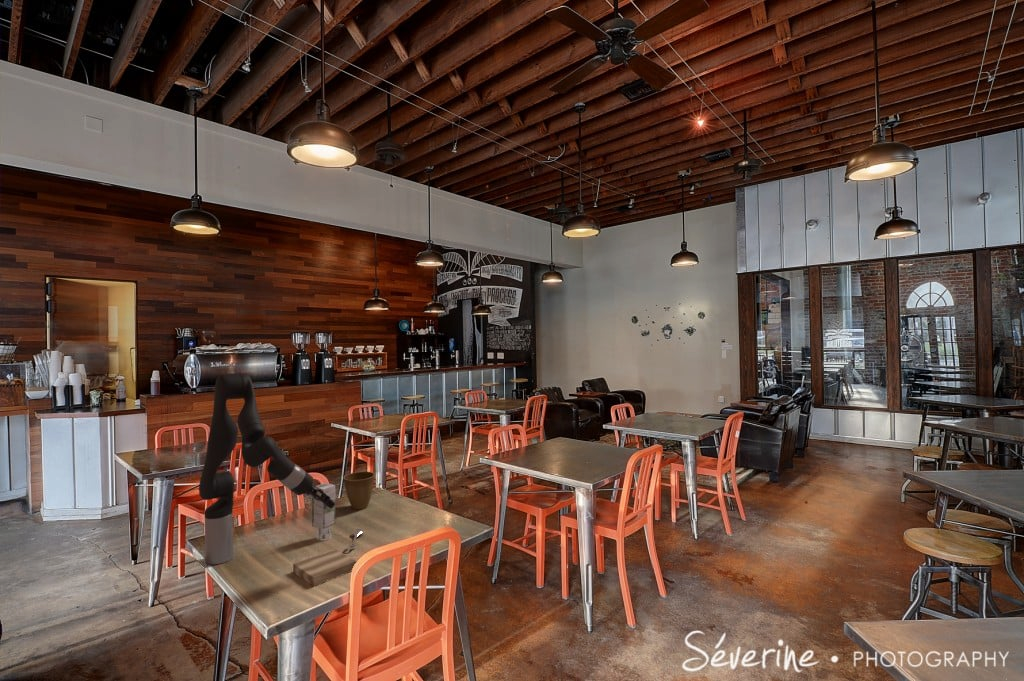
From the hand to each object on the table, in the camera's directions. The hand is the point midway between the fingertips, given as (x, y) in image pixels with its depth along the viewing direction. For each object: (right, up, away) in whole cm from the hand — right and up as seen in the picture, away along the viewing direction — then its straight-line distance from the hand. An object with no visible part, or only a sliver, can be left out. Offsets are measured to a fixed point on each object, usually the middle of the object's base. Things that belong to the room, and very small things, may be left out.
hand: (328, 503), depth 177 cm
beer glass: (-12, -24, +28) cm, 39 cm away
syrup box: (-1, -8, -1) cm, 8 cm away
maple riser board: (-1, -24, -1) cm, 24 cm away
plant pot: (-9, -24, +65) cm, 70 cm away
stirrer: (+2, -24, +23) cm, 34 cm away
